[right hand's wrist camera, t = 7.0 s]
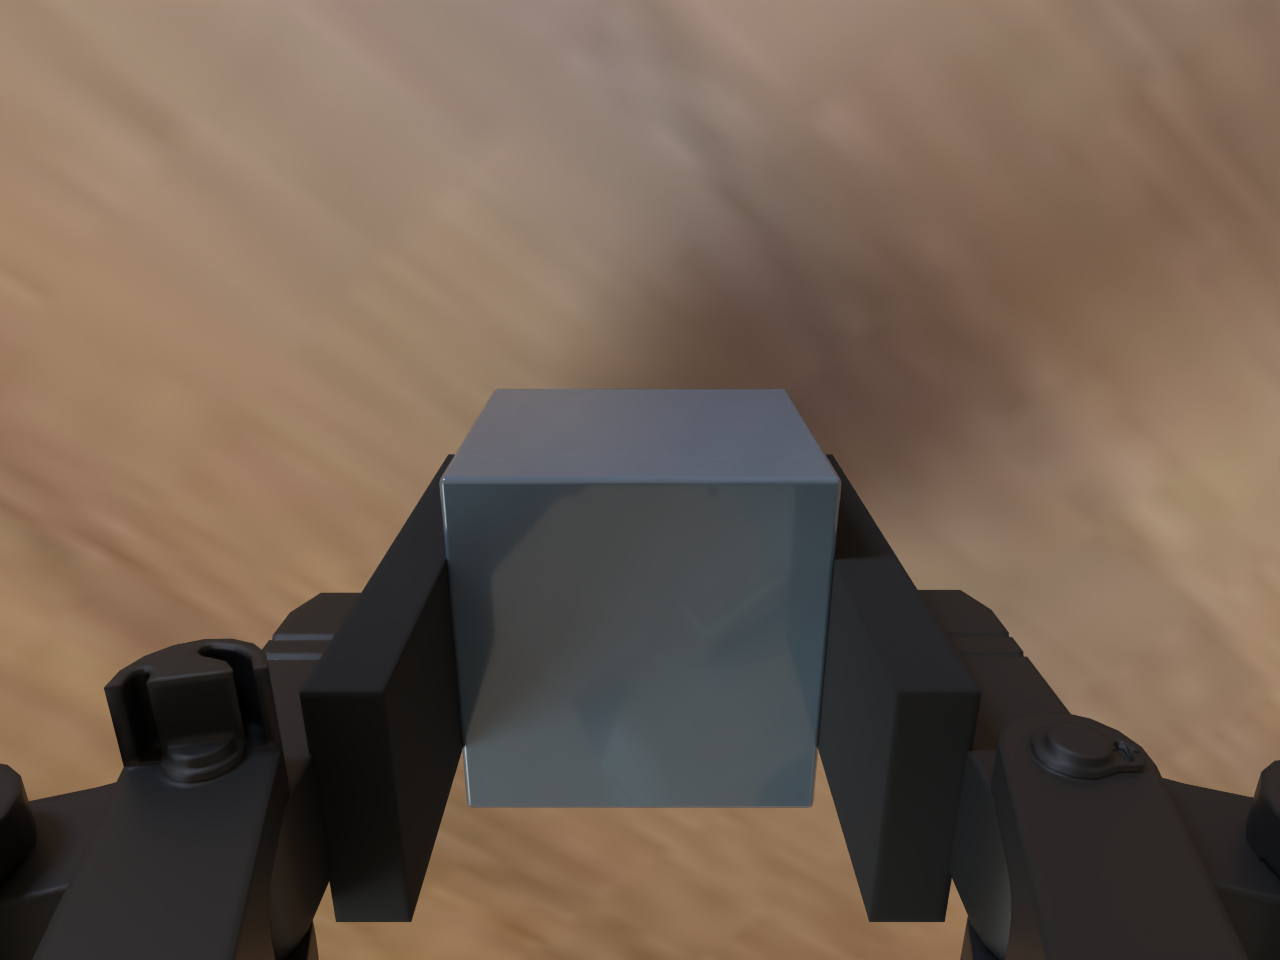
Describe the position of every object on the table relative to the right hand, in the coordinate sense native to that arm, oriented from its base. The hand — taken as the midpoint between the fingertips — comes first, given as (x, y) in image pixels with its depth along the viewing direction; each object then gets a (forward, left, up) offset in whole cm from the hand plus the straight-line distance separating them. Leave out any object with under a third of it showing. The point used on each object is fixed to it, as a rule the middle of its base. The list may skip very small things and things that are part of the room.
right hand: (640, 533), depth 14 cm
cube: (0, 0, 0) cm, 0 cm away
